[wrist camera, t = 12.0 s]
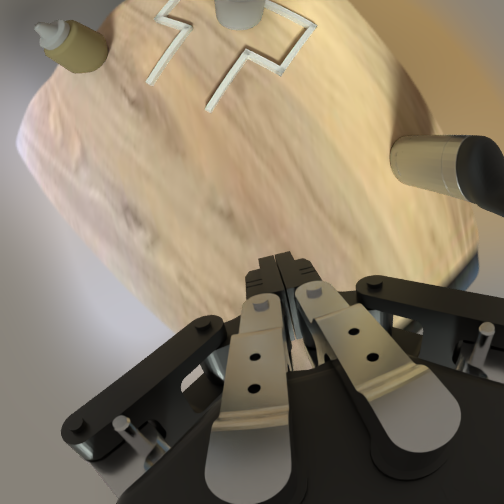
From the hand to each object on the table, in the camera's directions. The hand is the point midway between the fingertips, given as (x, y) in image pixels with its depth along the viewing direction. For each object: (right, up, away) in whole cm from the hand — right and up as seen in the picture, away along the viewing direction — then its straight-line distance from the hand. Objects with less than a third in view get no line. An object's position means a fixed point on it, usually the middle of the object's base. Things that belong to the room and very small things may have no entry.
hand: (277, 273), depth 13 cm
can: (-3, +40, +20) cm, 45 cm away
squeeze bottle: (-29, +35, +20) cm, 49 cm away
